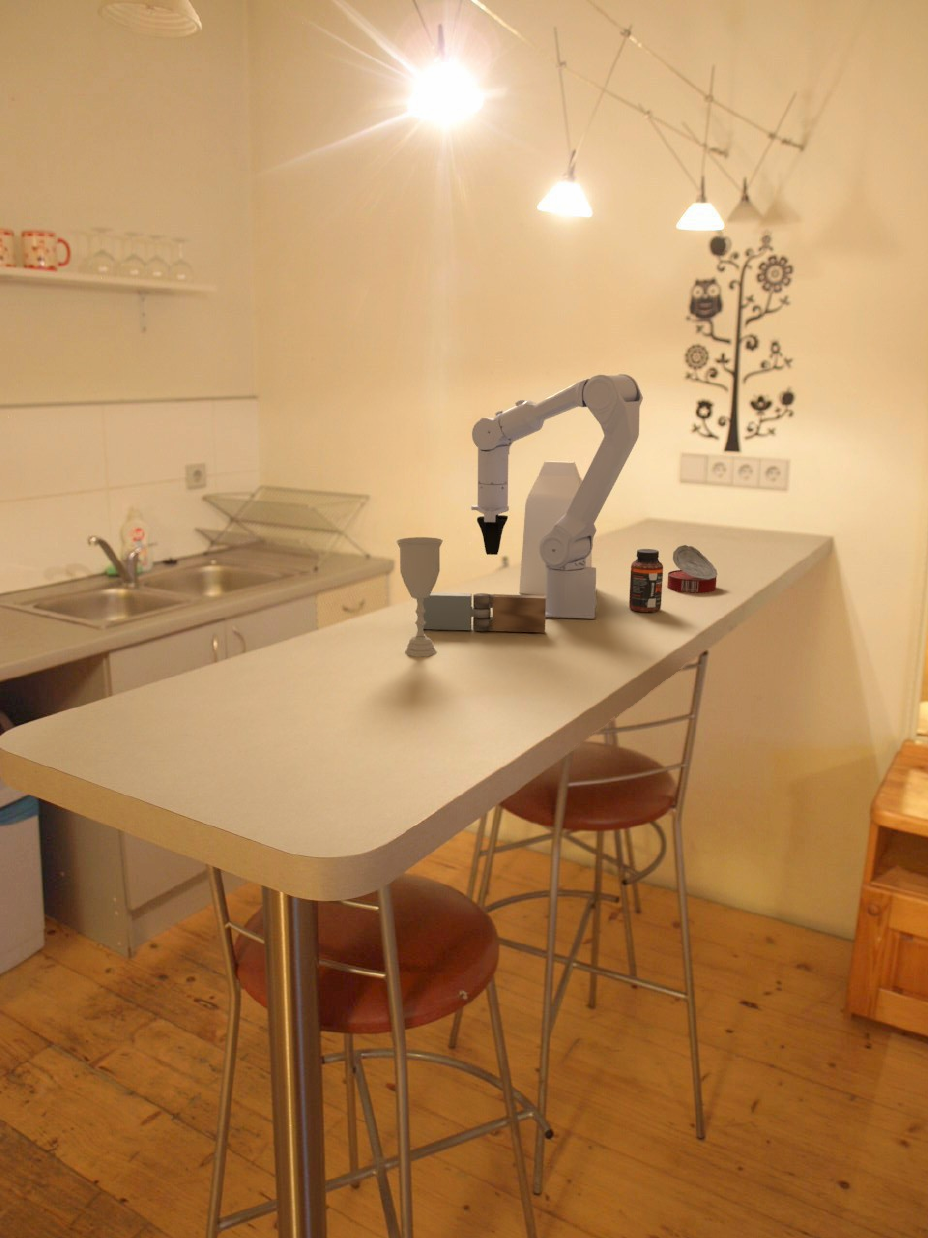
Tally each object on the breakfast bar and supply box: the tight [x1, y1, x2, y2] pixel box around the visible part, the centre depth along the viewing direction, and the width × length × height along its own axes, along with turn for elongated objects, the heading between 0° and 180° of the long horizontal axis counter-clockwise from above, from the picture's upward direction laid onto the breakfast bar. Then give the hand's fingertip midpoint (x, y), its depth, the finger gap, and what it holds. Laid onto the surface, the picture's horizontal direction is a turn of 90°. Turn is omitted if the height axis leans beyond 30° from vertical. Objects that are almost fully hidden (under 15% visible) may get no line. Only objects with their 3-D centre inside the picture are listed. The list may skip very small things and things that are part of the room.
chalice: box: [396, 536, 444, 657], centre depth 158 cm, size 7×7×18 cm
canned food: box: [666, 544, 718, 594], centre depth 205 cm, size 11×10×10 cm
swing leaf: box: [423, 592, 492, 631], centre depth 172 cm, size 12×3×6 cm, turn 85°
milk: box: [519, 460, 593, 596], centre depth 201 cm, size 12×12×26 cm
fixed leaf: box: [472, 592, 547, 633], centre depth 171 cm, size 12×3×6 cm, turn 83°
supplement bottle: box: [628, 548, 664, 613], centre depth 186 cm, size 6×6×11 cm
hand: (492, 554), depth 191 cm, fingers closed
